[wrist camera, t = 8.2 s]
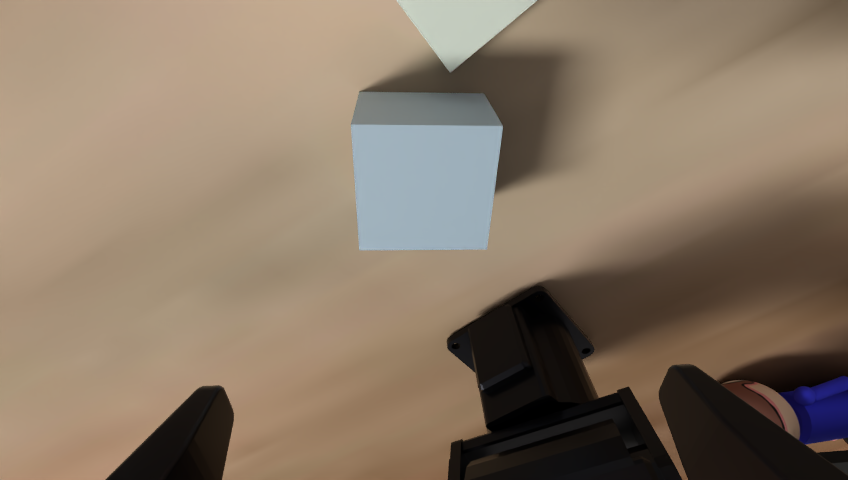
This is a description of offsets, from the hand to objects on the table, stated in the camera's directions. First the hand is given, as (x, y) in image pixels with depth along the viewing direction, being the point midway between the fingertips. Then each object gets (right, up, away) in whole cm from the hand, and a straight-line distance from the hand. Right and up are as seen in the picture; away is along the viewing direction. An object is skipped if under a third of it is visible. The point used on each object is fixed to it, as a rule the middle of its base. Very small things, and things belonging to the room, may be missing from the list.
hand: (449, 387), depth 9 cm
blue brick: (-1, +7, +10) cm, 12 cm away
